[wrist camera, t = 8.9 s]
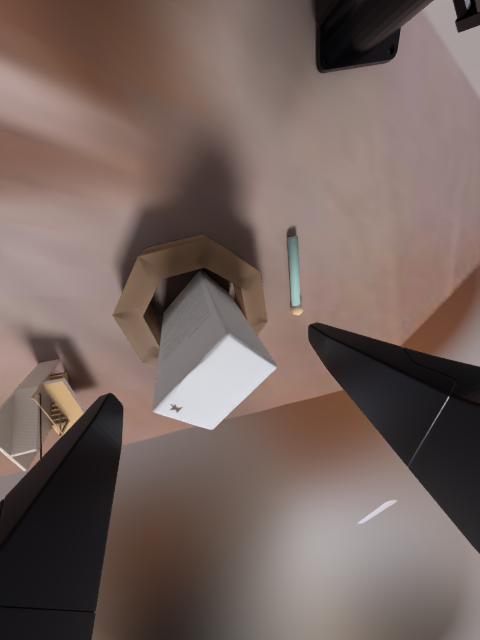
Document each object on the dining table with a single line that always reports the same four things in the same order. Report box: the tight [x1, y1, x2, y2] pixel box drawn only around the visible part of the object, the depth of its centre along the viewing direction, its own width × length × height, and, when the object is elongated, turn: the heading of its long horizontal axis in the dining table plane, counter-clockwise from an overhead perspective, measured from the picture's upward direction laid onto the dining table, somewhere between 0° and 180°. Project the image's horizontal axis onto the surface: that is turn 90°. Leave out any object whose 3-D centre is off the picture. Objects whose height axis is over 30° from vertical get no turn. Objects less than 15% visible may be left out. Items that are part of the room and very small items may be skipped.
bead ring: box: [113, 234, 268, 366], centre depth 19 cm, size 12×12×4 cm
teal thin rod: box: [287, 236, 303, 315], centre depth 22 cm, size 9×1×1 cm, turn 12°
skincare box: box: [153, 270, 277, 430], centre depth 16 cm, size 6×4×12 cm
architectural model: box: [0, 359, 86, 471], centre depth 19 cm, size 3×7×8 cm, turn 2°
